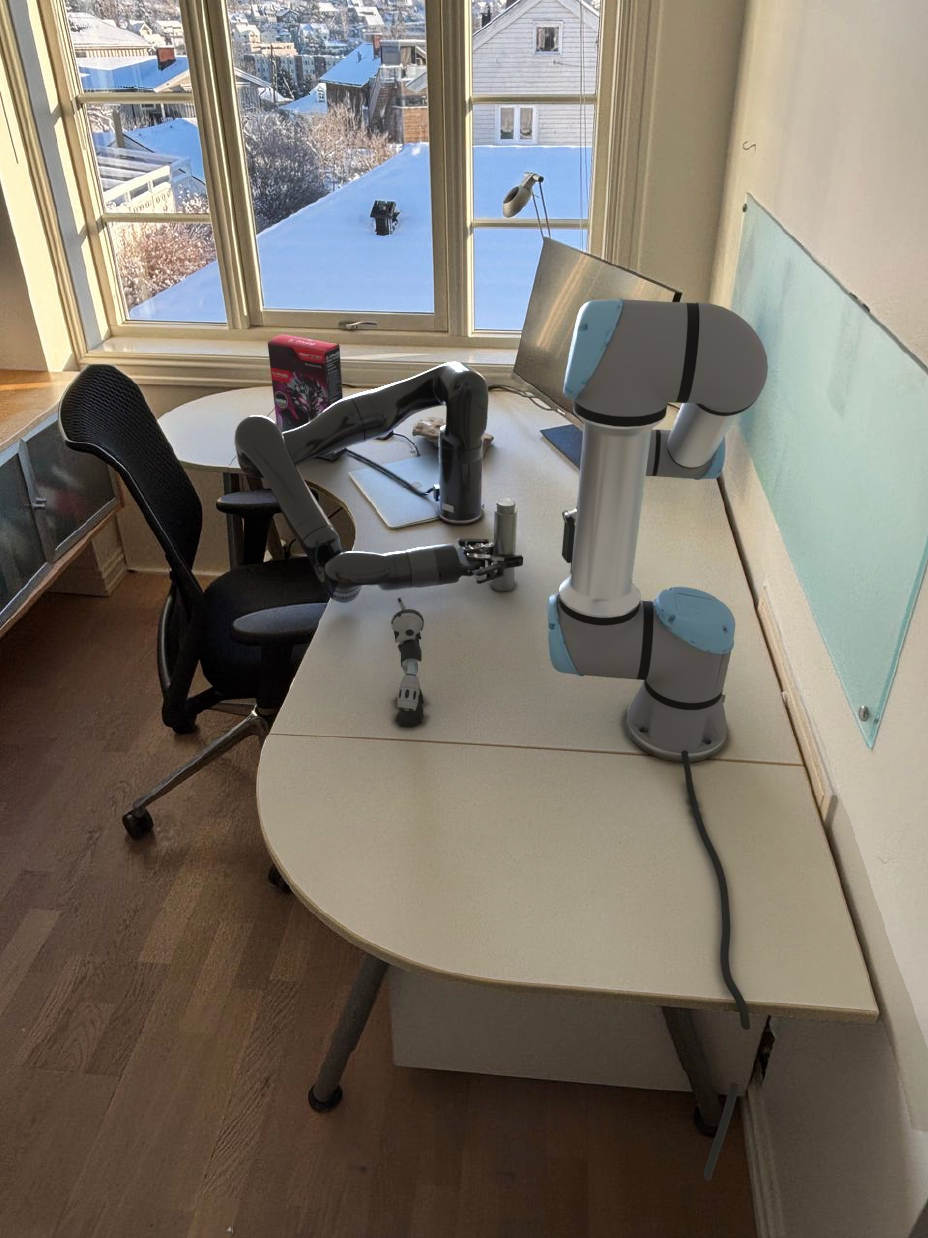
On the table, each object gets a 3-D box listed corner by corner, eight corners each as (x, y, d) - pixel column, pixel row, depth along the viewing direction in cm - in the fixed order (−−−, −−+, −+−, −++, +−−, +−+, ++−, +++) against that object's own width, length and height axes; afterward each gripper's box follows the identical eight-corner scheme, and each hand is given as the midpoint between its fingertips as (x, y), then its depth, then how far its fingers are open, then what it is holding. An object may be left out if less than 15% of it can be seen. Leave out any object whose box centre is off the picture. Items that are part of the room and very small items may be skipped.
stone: (396, 441, 228) (401, 417, 225) (415, 432, 241) (420, 409, 239) (476, 465, 224) (482, 442, 222) (491, 455, 237) (496, 432, 235)
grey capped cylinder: (488, 584, 179) (490, 500, 169) (505, 578, 181) (508, 494, 171) (500, 593, 176) (503, 508, 166) (518, 587, 178) (522, 503, 168)
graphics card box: (276, 448, 231) (264, 340, 216) (293, 439, 236) (282, 332, 221) (333, 462, 225) (324, 351, 209) (349, 452, 230) (341, 343, 214)
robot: (426, 751, 138) (424, 643, 127) (394, 752, 138) (389, 643, 127) (424, 672, 155) (422, 570, 143) (395, 673, 154) (391, 570, 143)
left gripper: (422, 564, 179) (506, 552, 183) (440, 602, 168) (529, 589, 172) (421, 530, 175) (507, 519, 179) (440, 567, 163) (531, 554, 167)
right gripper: (638, 463, 169) (625, 572, 182) (547, 474, 165) (540, 585, 178) (657, 480, 163) (641, 591, 176) (562, 493, 159) (554, 605, 172)
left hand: (517, 553), depth 175 cm, fingers closed on grey capped cylinder, 4 cm apart
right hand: (590, 588), depth 177 cm, fingers closed on lid, 5 cm apart
